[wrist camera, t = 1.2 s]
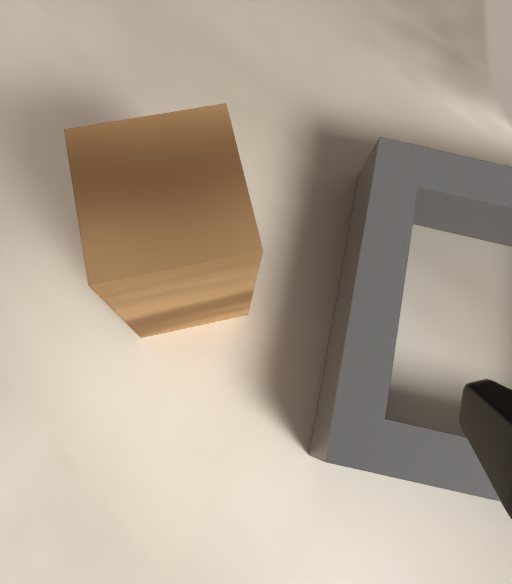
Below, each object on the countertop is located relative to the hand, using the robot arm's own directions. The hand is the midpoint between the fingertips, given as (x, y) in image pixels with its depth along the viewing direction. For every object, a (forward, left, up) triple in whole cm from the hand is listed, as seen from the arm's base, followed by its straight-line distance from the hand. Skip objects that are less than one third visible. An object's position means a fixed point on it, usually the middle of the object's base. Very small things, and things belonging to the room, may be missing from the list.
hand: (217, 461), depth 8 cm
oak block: (+6, +5, -14) cm, 16 cm away
